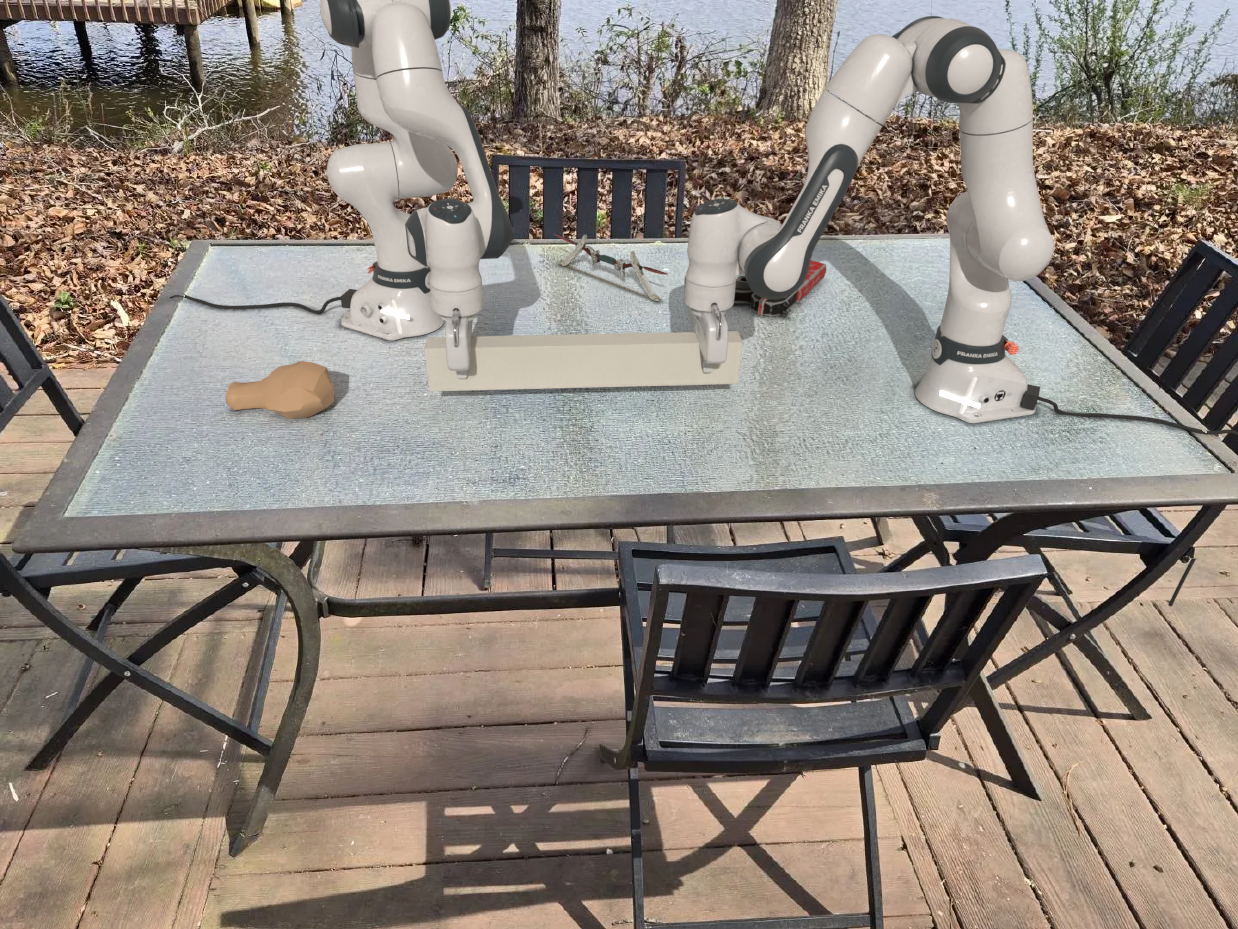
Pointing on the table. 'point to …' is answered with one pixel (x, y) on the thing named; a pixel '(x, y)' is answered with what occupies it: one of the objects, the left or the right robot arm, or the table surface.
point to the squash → (286, 391)
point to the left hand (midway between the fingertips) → (462, 368)
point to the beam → (581, 361)
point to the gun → (781, 305)
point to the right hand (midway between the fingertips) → (704, 363)
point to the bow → (618, 264)
